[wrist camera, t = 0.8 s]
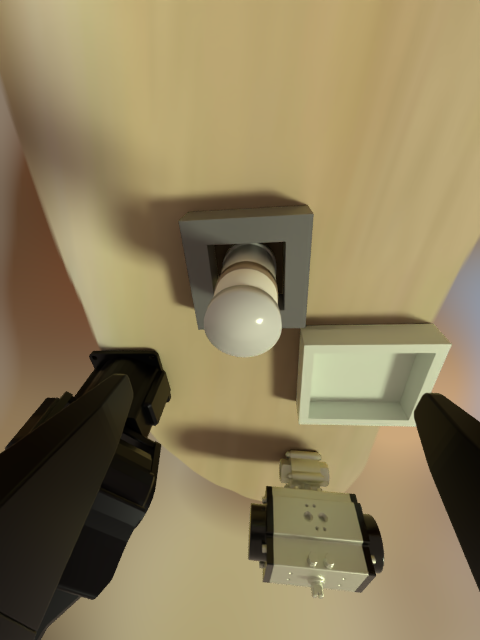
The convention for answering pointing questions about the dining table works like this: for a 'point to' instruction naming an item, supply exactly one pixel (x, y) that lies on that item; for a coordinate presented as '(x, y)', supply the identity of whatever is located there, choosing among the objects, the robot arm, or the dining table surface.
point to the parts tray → (366, 372)
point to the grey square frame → (250, 227)
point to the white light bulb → (245, 302)
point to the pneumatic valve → (313, 531)
